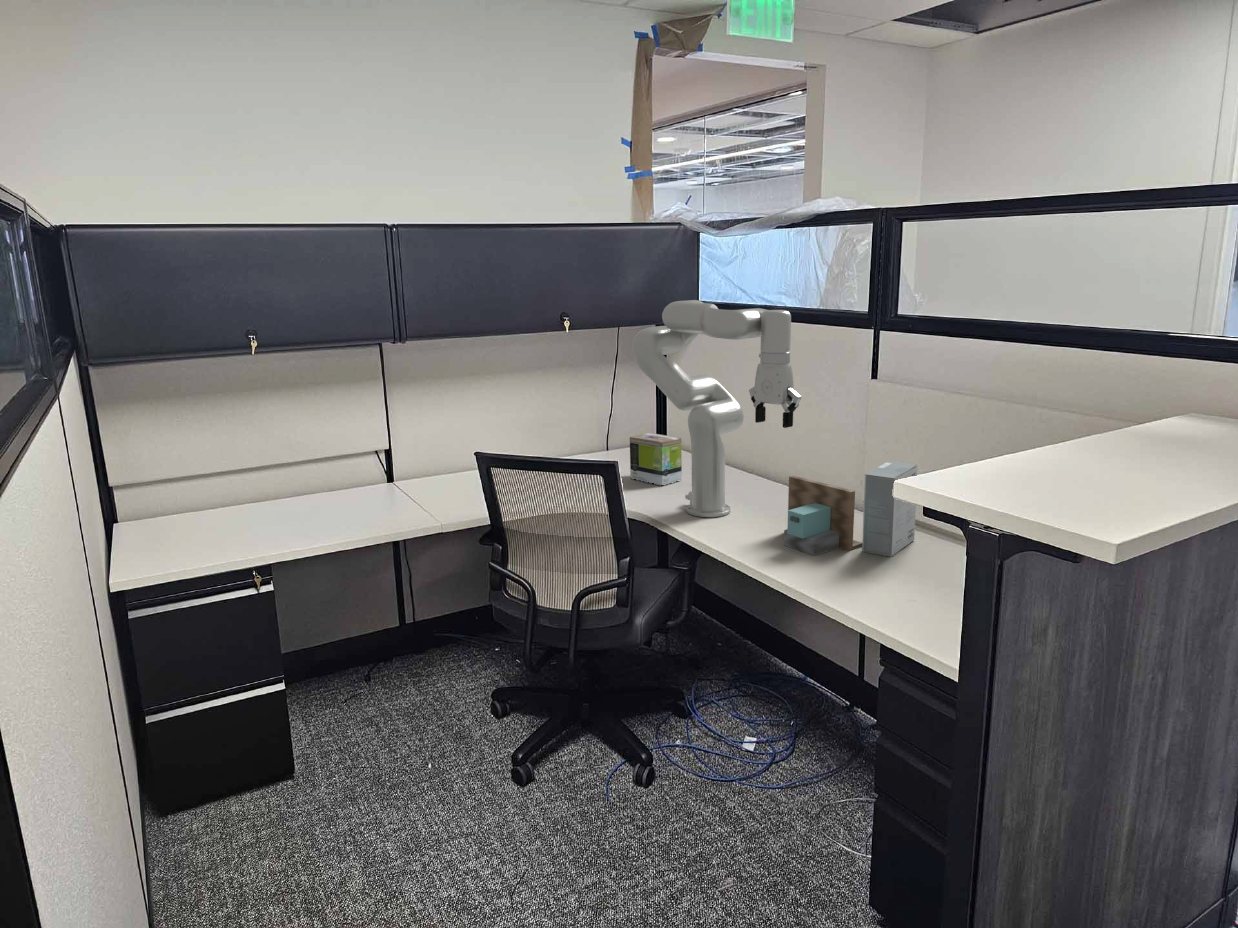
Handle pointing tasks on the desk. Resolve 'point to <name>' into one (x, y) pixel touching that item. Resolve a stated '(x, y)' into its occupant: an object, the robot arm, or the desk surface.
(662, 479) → the tea box
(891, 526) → the hard drive box
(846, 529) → the wall board
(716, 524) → the desk surface
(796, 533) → the cabinet block
